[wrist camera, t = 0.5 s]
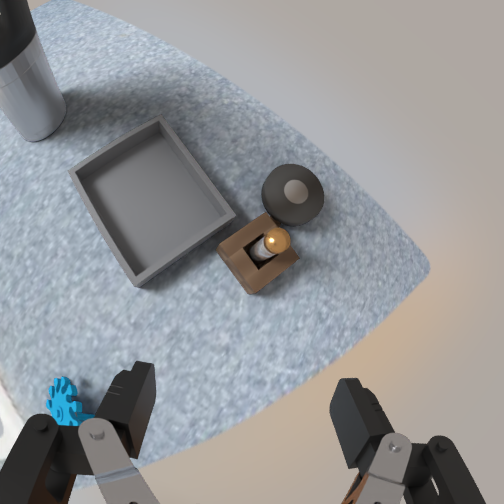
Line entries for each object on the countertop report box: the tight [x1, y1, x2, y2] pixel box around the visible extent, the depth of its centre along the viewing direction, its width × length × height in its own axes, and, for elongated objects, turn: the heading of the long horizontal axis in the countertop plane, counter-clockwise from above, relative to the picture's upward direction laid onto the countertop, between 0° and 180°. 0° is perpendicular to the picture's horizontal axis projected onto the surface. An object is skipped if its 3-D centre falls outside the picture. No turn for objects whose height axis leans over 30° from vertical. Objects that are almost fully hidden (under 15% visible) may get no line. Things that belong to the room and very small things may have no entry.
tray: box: [68, 115, 236, 288], centre depth 34 cm, size 18×15×4 cm
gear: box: [46, 376, 95, 426], centre depth 27 cm, size 11×6×10 cm
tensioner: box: [216, 164, 324, 294], centre depth 37 cm, size 11×16×5 cm
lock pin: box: [246, 228, 290, 264], centre depth 33 cm, size 2×2×10 cm
